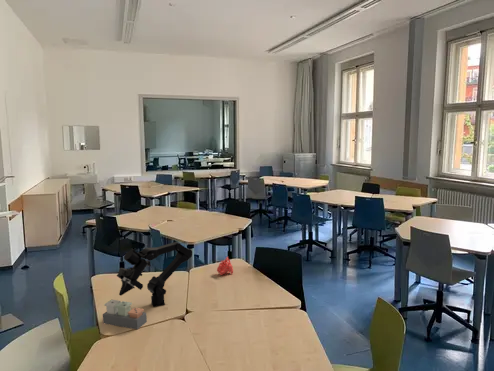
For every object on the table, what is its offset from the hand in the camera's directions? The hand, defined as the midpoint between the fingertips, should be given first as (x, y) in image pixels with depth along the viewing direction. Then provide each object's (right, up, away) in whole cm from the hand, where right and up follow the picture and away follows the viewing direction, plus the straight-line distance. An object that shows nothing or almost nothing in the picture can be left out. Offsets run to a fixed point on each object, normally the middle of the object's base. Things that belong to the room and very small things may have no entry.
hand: (119, 295), depth 196 cm
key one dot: (-3, -10, -2) cm, 10 cm away
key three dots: (+11, -13, -6) cm, 18 cm away
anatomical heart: (+52, -4, +62) cm, 81 cm away
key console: (+4, -13, -3) cm, 14 cm away
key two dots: (+4, -10, -4) cm, 12 cm away
